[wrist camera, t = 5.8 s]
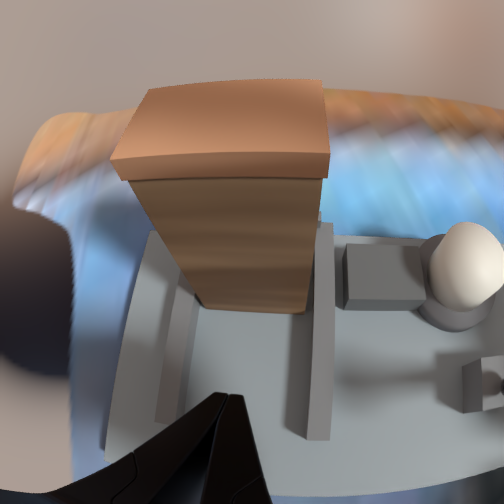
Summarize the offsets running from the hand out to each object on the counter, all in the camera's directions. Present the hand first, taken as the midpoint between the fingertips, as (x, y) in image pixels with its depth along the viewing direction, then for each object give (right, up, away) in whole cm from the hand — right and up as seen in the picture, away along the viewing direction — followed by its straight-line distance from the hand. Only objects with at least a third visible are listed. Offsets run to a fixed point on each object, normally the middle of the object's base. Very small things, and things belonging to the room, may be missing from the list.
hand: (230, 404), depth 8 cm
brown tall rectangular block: (+1, +3, +8) cm, 9 cm away
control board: (+7, -1, +7) cm, 10 cm away
